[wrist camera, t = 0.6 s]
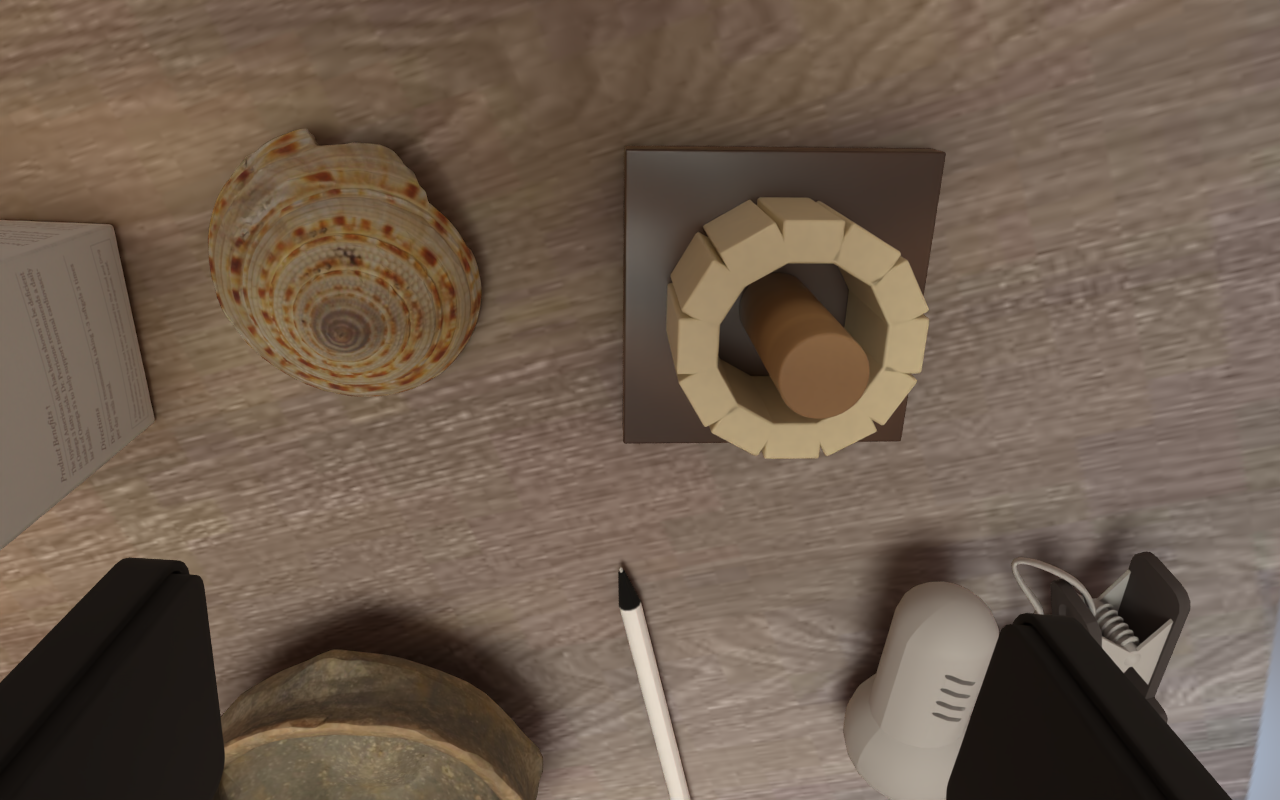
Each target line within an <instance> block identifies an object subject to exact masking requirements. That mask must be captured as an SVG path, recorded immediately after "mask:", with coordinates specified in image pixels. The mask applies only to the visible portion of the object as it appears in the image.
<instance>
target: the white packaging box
mask: <svg viewBox="0 0 1280 800" xmlns="http://www.w3.org/2000/svg"><path fill="white" fill-rule="evenodd" d="M154 422H155V419H154V414H153V410H152V405H151V401H150V396H149V391H148V386H147V381H146V377H145V372H144V367H143V363H142V358H141V354H140V349H139V344H138V340H137V335H136V330H135V326H134V321H133V316H132V312H131V307H130V302H129V298H128V293H127V288H126V284H125V279H124V274H123V270H122V265H121V260H120V256H119V251H118V246H117V241H116V236H115V232H114V228H113V226H112V225H110V224H91V223H66V222H38V221H16V220H0V550H1V549H2V548H4V547H5V546H6V545H7V544H9V543H10V542H11V541H13V540H14V539H15V538H16V537H17V536H18V535H19V534H21V533H22V532H23V531H24V530H26V529H27V528H28V527H29V526H30V525H32V524H33V523H34V522H35V521H36V520H38V519H39V518H40V517H41V516H42V515H44V514H45V513H46V512H47V511H49V510H50V509H51V508H52V507H53V506H55V505H56V504H57V503H58V502H59V501H61V500H62V499H63V498H64V497H66V496H67V495H68V494H69V493H70V492H71V491H72V490H74V489H75V488H76V487H77V486H79V485H80V484H81V483H82V482H84V481H85V480H86V479H87V478H88V477H89V476H91V475H92V474H93V473H94V472H96V471H97V470H98V469H99V468H100V467H102V466H103V465H104V464H105V463H107V462H108V461H109V460H110V459H111V458H112V457H113V456H114V455H116V454H117V453H118V452H119V451H120V450H122V449H123V448H124V447H125V446H126V445H128V444H129V443H130V442H131V441H132V440H134V439H135V438H136V437H137V436H138V435H140V434H141V433H142V432H143V431H144V430H145V429H147V428H148V427H149V426H150V425H151V424H153V423H154Z"/></svg>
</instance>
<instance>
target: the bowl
mask: <svg viewBox="0 0 1280 800" xmlns="http://www.w3.org/2000/svg"><path fill="white" fill-rule="evenodd" d="M221 725H222V733H223V741H224V749H225V763H224V769H223V774H222V777H221V780H220V783H219V786H218V788H217V790H216V792H215V794H214V796H213V798H212V800H536V797H537V793H538V787H539V780H540V777H541V774H542V772H543V757H542V755H541V753H540V750H539V748H538V747H537V746H536V745H535V744H534V743H533V742H532V741H531V740H530V739H529V738H528V737H527V736H526V735H525V734H524V733H523V732H522V731H521V730H520V729H519V727H518V726H517V725H516V724H515V722H514V721H513V720H512V719H511V718H510V717H509V716H508V715H507V714H506V713H505V712H504V711H503V710H502V708H500V707H499V706H498V705H497V704H496V703H495V702H494V701H493V700H492V699H491V698H490V697H489V696H488V695H487V694H486V693H484V692H483V691H481V690H479V689H478V688H476V687H475V686H473V685H472V684H470V683H468V682H467V681H464V680H462V679H460V678H457V677H455V676H453V675H450V674H448V673H445V672H443V671H440V670H438V669H435V668H432V667H429V666H426V665H423V664H420V663H417V662H413V661H410V660H407V659H403V658H399V657H394V656H390V655H385V654H376V653H367V652H357V651H349V650H336V649H333V650H330V651H327V652H325V653H322V654H320V655H317V656H315V657H313V658H312V659H310V660H308V661H305V662H302V663H300V664H297V665H295V666H292V667H290V668H287V669H285V670H283V671H280V672H279V673H277V674H275V675H273V676H271V677H269V678H267V679H265V680H264V681H262V682H260V683H259V684H257V685H256V686H254V687H252V688H251V689H249V690H248V691H246V692H244V693H243V694H241V695H240V696H239V697H238V698H237V700H236V701H235V702H234V703H233V704H232V705H231V706H230V707H229V708H228V710H227V711H226V712H225V713H224V714H223V715H222V716H221Z"/></svg>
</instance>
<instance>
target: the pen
mask: <svg viewBox="0 0 1280 800" xmlns="http://www.w3.org/2000/svg"><path fill="white" fill-rule="evenodd" d="M619 570H620V571H619V572H618V573H619V608H620V612H621V616H622V619H623V623H624V627H625V631H626V634H627V638H628V642H629V646H630V649H631V653H632V657H633V661H634V664H635V668H636V672H637V676H638V680H639V683H640V687H641V691H642V695H643V698H644V702H645V706H646V710H647V713H648V717H649V721H650V725H651V728H652V732H653V736H654V740H655V744H656V747H657V751H658V755H659V759H660V762H661V766H662V770H663V774H664V777H665V781H666V785H667V789H668V792H669V796H670V800H691V799H690V795H689V791H688V787H687V783H686V779H685V775H684V771H683V767H682V763H681V759H680V755H679V751H678V747H677V743H676V739H675V735H674V731H673V727H672V723H671V719H670V716H669V712H668V708H667V704H666V700H665V696H664V692H663V688H662V684H661V680H660V676H659V672H658V668H657V664H656V660H655V656H654V652H653V648H652V644H651V640H650V636H649V632H648V628H647V624H646V620H645V616H644V612H643V608H642V604H641V601H640V599H639V597H638V595H637V593H636V591H635V590H634V588H633V586H632V584H631V582H630V580H629V578H628V576H627V574H626V573H625V571H624V570H623V568H622V567H620V568H619Z"/></svg>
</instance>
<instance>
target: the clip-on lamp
mask: <svg viewBox="0 0 1280 800" xmlns="http://www.w3.org/2000/svg"><path fill="white" fill-rule="evenodd" d="M1018 564H1026V565H1030V566H1034V567H1037V568H1040V569H1042V570H1045V571H1047V572H1050V573H1052V574H1054V575H1056V576H1058V577H1060V578H1062V579H1059V580H1056V581H1053V582H1051V585H1050V587H1051V601H1052V615H1063V616H1070V617H1073V618H1075V619H1076V620H1078V621H1079V622H1080V623H1081V624H1082V625H1083V626H1084V627H1085V629H1086V630H1087V631H1088V632H1089V633H1090V634H1091V636H1092V637H1093V638H1094V639H1095V640H1096V641H1097V643H1098V644H1099V645H1100V646H1101V647H1102V648H1103V650H1104V651H1105V652H1106V653H1107V654H1108V655H1109V657H1110V658H1111V659H1112V660H1113V661H1114V662H1115V664H1116V665H1117V666H1118V667H1119V668H1120V669H1121V671H1122V672H1123V673H1124V674H1125V675H1126V676H1127V678H1128V679H1129V680H1130V681H1131V682H1132V683H1133V685H1134V686H1135V687H1136V688H1137V689H1138V690H1139V692H1140V693H1141V694H1142V695H1143V696H1144V697H1145V699H1146V700H1147V701H1148V702H1149V703H1150V704H1151V706H1152V707H1153V708H1154V709H1155V710H1156V711H1157V713H1158V714H1159V715H1160V716H1161V717H1162V718H1163V720H1164V721H1165V722H1166V723H1167V715H1166V713H1165V711H1164V709H1163V708H1162V707H1161V705H1160V704H1159V703H1158V701H1157V700H1156V699H1155V694H1156V692H1157V689H1158V687H1159V684H1160V682H1161V680H1162V677H1163V675H1164V672H1165V670H1166V667H1167V665H1168V663H1169V660H1170V658H1171V655H1172V653H1173V650H1174V648H1175V645H1176V643H1177V641H1178V638H1179V636H1180V633H1181V631H1182V628H1183V626H1184V623H1185V621H1186V619H1187V616H1188V614H1189V611H1190V600H1189V597H1188V594H1187V592H1186V590H1185V589H1184V587H1183V586H1182V584H1181V583H1180V582H1179V581H1178V580H1177V579H1176V578H1175V577H1174V575H1173V574H1172V573H1171V572H1170V571H1169V570H1168V569H1167V568H1166V567H1165V566H1164V564H1163V563H1162V562H1161V561H1160V560H1159V559H1158V558H1157V557H1156V556H1155V555H1154V554H1152V553H1151V552H1142V553H1138V554H1135V555H1134V556H1133V558H1132V560H1131V563H1130V566H1129V570H1127V571H1126V572H1125V573H1124V574H1123V575H1122V576H1121V577H1120V578H1119V579H1118V580H1117V581H1115V582H1114V583H1113V584H1112V585H1111V586H1110V587H1109V588H1108V589H1107V590H1106V591H1105V592H1104V593H1102V594H1101V595H1100V596H1099V597H1098V598H1097V599H1096V598H1094V599H1092V598H1091V596H1090V594H1089V593H1088V591H1087V590H1086V588H1085V587H1084V585H1083V584H1082V583H1080V582H1079V581H1078V580H1077V579H1076V578H1075V577H1073V576H1072V575H1070V574H1068V573H1067V572H1065V571H1063V570H1061V569H1059V568H1057V567H1055V566H1053V565H1050V564H1047V563H1045V562H1042V561H1039V560H1035V559H1031V558H1025V557H1018V558H1015V559H1013V561H1012V563H1011V566H1012V572H1013V574H1014V576H1015V578H1016V580H1017V582H1018V584H1019V585H1020V587H1021V589H1022V590H1023V592H1024V593H1025V595H1026V596H1027V598H1028V599H1029V601H1030V602H1031V604H1032V605H1033V607H1034V608H1035V611H1034V613H1033V614H1044V612H1043V607H1042V605H1041V603H1040V602H1039V600H1038V599H1037V598H1036V596H1035V595H1034V594H1033V592H1032V591H1031V590H1030V588H1029V587H1028V586H1027V584H1026V583H1025V582H1024V580H1023V579H1022V577H1021V575H1020V574H1019V572H1018V570H1017V565H1018ZM1071 584H1072V585H1073V586H1075V587H1076V588H1077V589H1078V590H1079V591H1080V592H1081V594H1082V595H1083V596H1081V595H1080V594H1078V593H1077V592H1076V591H1075V590H1074V588H1073V587H1072V586H1071ZM998 637H999V629H998V626H997V623H996V621H995V619H994V616H993V614H992V612H991V610H990V609H989V608H988V607H987V605H986V604H985V603H984V602H983V601H982V599H981V598H979V597H978V596H977V595H975V594H974V593H973V592H971V591H970V590H969V589H966V588H964V587H962V586H960V585H958V584H953V583H949V582H927V583H924V584H920V585H917V586H915V587H913V588H912V589H910V590H909V591H907V592H906V593H905V594H904V596H903V597H902V599H901V601H900V602H899V604H898V605H897V607H896V609H895V613H894V616H893V619H892V623H891V626H890V629H889V633H888V636H887V639H886V643H885V646H884V649H883V653H882V656H881V659H880V663H879V666H878V669H877V673H876V674H874V675H873V676H871V677H870V678H869V679H867V680H866V681H864V682H863V683H862V684H860V685H859V687H858V688H857V689H856V691H855V692H854V694H853V696H852V697H851V699H850V701H849V702H848V705H847V707H846V713H845V720H844V728H843V733H844V738H845V743H846V747H847V752H848V755H849V757H850V759H851V761H852V763H853V764H854V766H855V768H856V770H857V772H858V773H859V775H860V776H861V777H862V778H863V779H864V780H865V781H866V782H867V783H868V784H869V785H870V786H871V787H872V788H873V789H875V790H876V791H878V792H879V793H881V794H883V795H884V796H886V797H888V798H889V799H891V800H944V799H946V789H947V785H948V781H949V778H950V775H951V773H952V770H953V767H954V764H955V761H956V758H957V755H958V752H959V749H960V747H961V744H962V741H963V738H964V735H965V732H966V729H967V726H968V723H969V721H970V718H971V715H970V714H971V712H972V709H973V707H974V704H975V701H976V699H977V696H978V694H979V692H980V689H981V686H982V683H983V680H984V677H985V674H986V671H987V669H988V666H989V663H990V660H991V657H992V654H993V651H994V648H995V645H996V643H997V640H998Z"/></svg>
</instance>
